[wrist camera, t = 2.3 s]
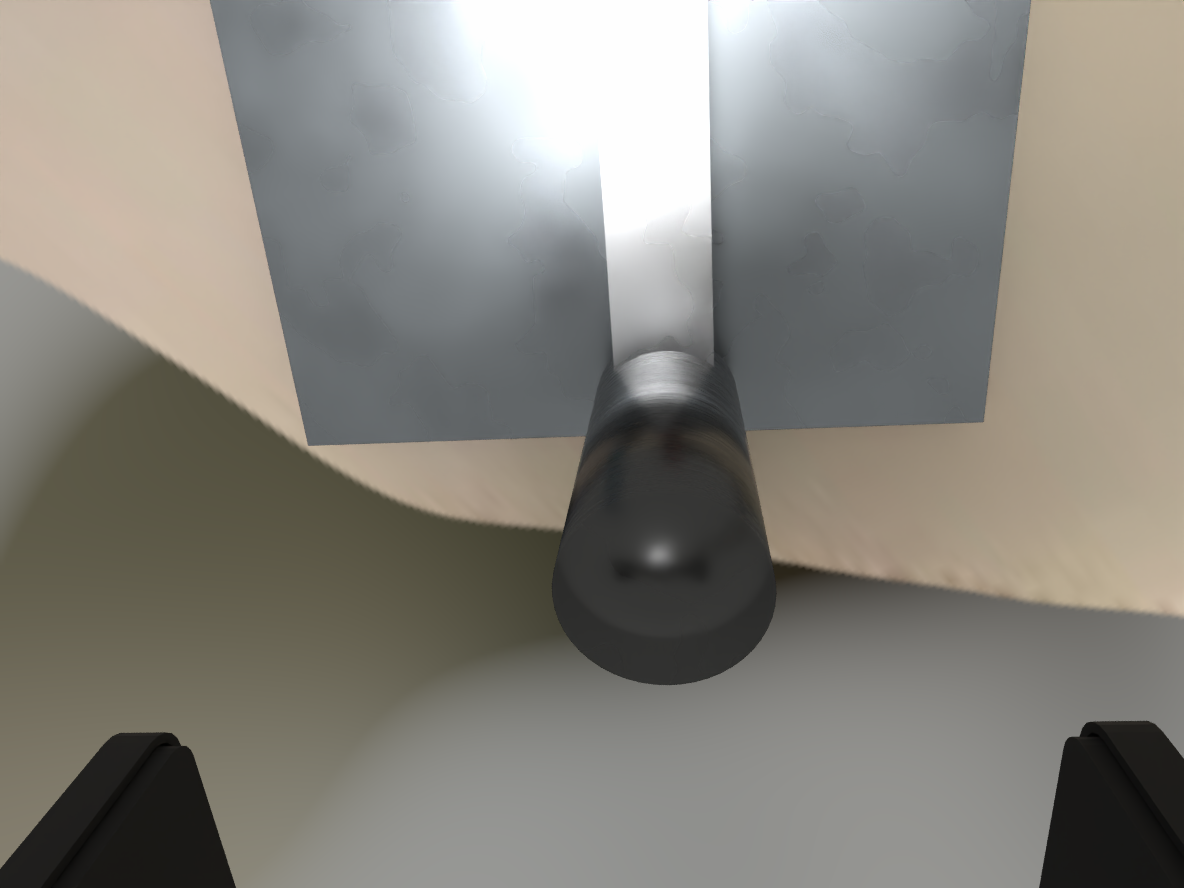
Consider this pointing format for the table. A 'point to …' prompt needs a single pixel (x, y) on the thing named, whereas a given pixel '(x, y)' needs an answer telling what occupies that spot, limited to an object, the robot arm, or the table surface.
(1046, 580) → the table surface
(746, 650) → the lever
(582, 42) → the base
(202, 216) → the table surface
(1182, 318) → the table surface
